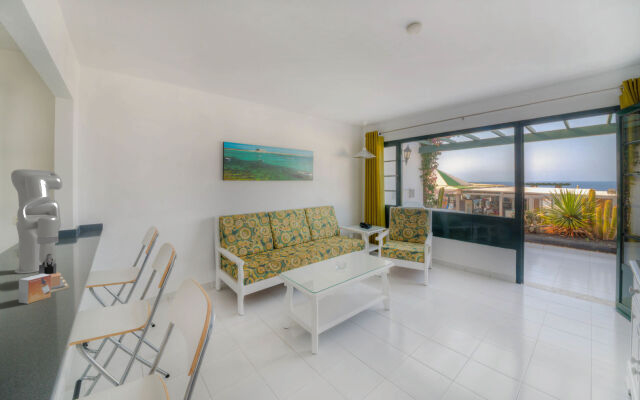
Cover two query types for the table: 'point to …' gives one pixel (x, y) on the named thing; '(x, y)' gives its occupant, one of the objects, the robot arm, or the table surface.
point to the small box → (34, 288)
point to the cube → (55, 279)
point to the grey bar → (41, 271)
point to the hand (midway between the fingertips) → (47, 271)
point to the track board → (61, 287)
